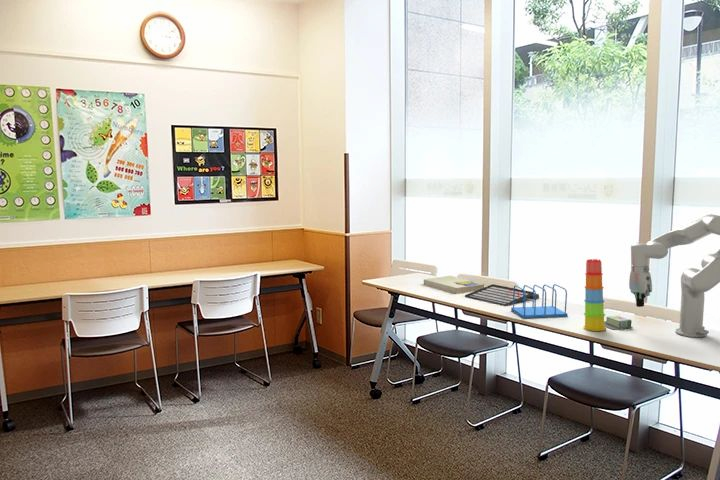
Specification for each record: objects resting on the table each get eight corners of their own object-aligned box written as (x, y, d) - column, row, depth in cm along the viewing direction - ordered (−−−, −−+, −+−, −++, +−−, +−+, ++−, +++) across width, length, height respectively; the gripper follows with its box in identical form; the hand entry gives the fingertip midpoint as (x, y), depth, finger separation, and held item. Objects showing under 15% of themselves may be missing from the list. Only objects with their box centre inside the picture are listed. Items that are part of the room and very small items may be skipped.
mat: (632, 327, 286) (632, 327, 286) (613, 330, 282) (613, 329, 282) (613, 321, 298) (613, 320, 298) (594, 323, 294) (594, 322, 294)
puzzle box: (450, 281, 410) (423, 285, 398) (450, 275, 409) (423, 278, 397) (484, 290, 378) (455, 294, 367) (484, 284, 378) (456, 287, 366)
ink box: (620, 321, 282) (601, 314, 295) (619, 328, 283) (601, 322, 296) (631, 319, 284) (612, 313, 297) (631, 327, 285) (612, 321, 298)
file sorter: (523, 318, 305) (523, 290, 304) (510, 310, 323) (511, 284, 321) (567, 317, 308) (568, 289, 306) (553, 309, 325) (554, 282, 324)
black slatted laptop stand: (506, 315, 334) (539, 300, 353) (506, 304, 333) (539, 290, 351) (465, 303, 359) (497, 290, 378) (464, 292, 358) (497, 279, 376)
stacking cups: (592, 332, 278) (595, 262, 274) (578, 327, 288) (581, 259, 284) (610, 330, 281) (613, 260, 277) (596, 325, 291) (599, 257, 287)
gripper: (658, 270, 269) (658, 308, 271) (633, 266, 283) (634, 302, 285) (646, 271, 266) (646, 310, 269) (621, 267, 281) (622, 304, 283)
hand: (640, 306), depth 277 cm, fingers closed
